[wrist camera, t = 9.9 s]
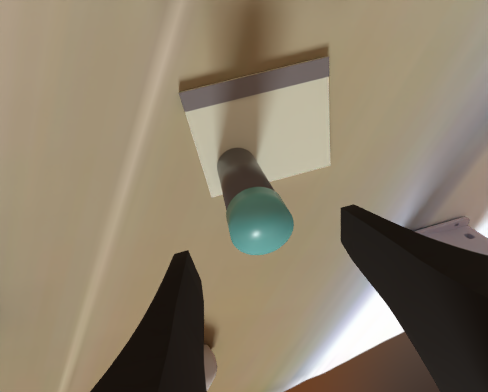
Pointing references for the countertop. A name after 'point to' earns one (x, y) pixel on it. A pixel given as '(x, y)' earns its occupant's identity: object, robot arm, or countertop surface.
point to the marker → (252, 205)
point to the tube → (209, 366)
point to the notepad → (264, 120)
